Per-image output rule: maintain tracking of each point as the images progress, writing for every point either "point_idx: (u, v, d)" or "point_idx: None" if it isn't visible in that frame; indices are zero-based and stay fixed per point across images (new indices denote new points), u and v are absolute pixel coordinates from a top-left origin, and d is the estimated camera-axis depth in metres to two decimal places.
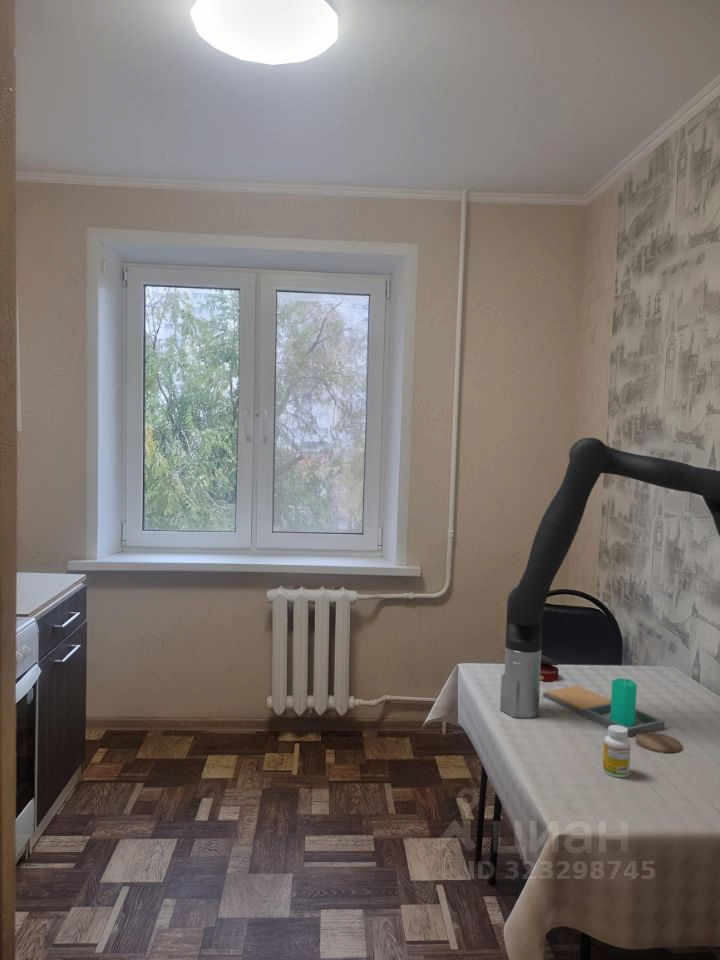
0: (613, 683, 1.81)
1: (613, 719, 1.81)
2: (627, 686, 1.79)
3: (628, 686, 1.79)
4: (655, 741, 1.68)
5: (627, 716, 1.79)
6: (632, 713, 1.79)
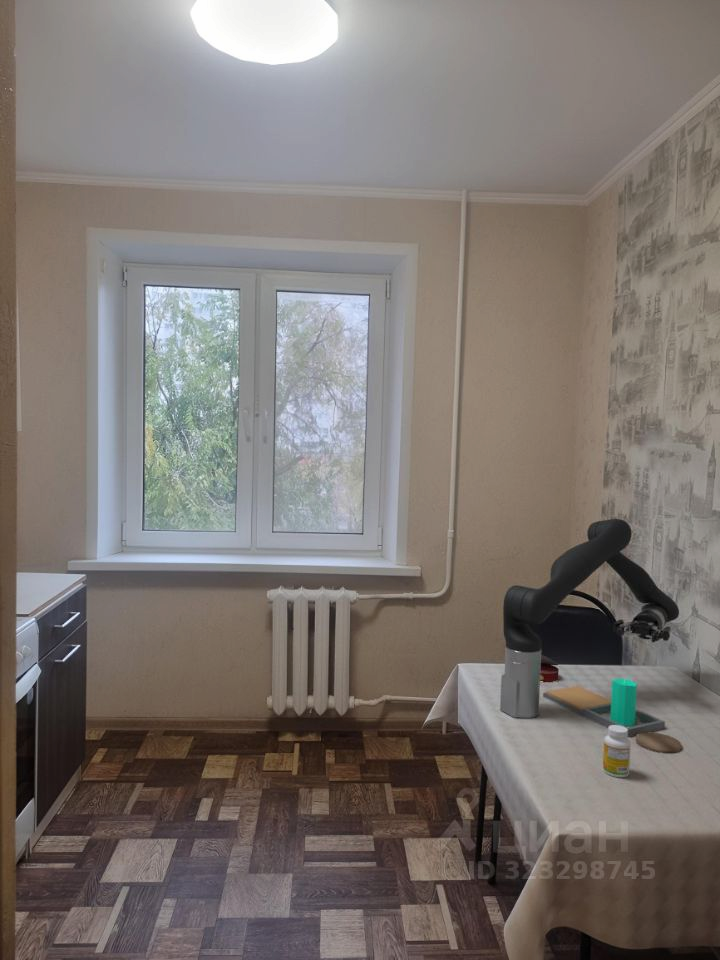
0: (613, 683, 1.81)
1: (613, 719, 1.81)
2: (627, 686, 1.79)
3: (628, 686, 1.79)
4: (655, 741, 1.68)
5: (627, 716, 1.79)
6: (632, 713, 1.79)
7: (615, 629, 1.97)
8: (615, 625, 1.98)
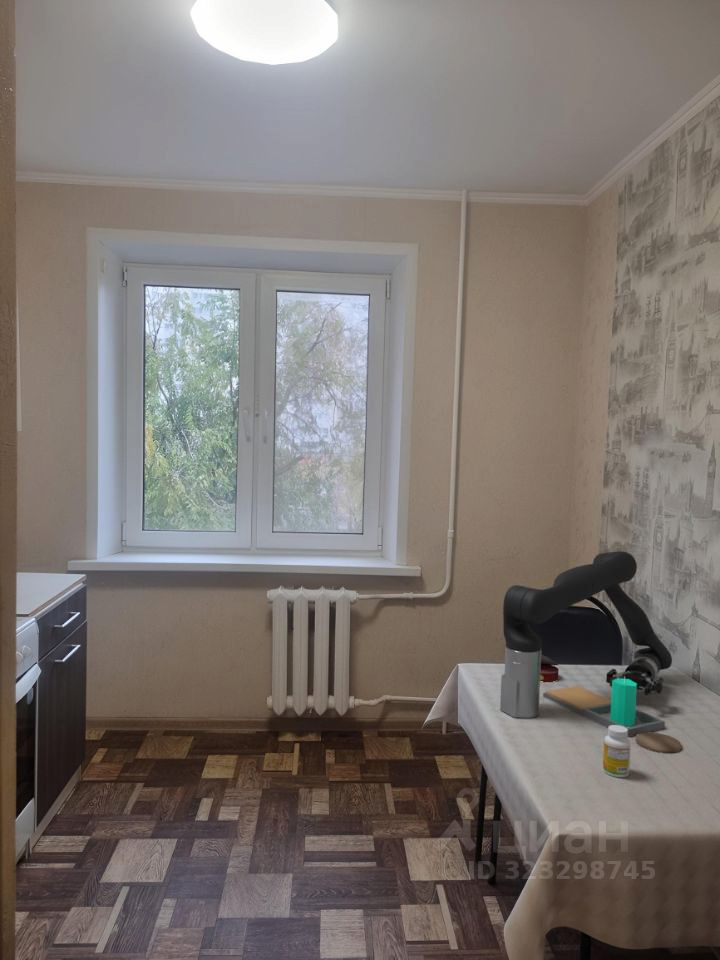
0: (613, 683, 1.81)
1: (613, 719, 1.81)
2: (627, 686, 1.79)
3: (628, 686, 1.79)
4: (655, 741, 1.68)
5: (627, 716, 1.79)
6: (632, 713, 1.79)
7: (608, 679, 1.95)
8: (608, 675, 1.95)
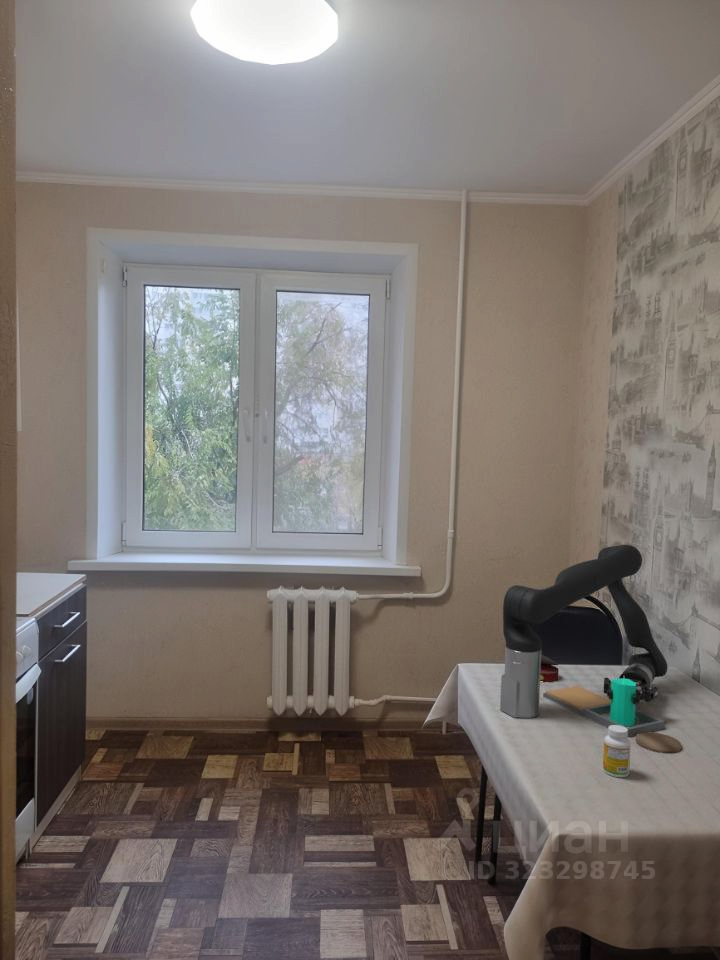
0: (612, 683, 1.81)
1: (613, 719, 1.81)
2: (626, 685, 1.79)
3: (627, 686, 1.79)
4: (655, 741, 1.68)
5: (626, 716, 1.79)
6: (631, 712, 1.79)
7: (605, 690, 1.86)
8: (605, 685, 1.86)
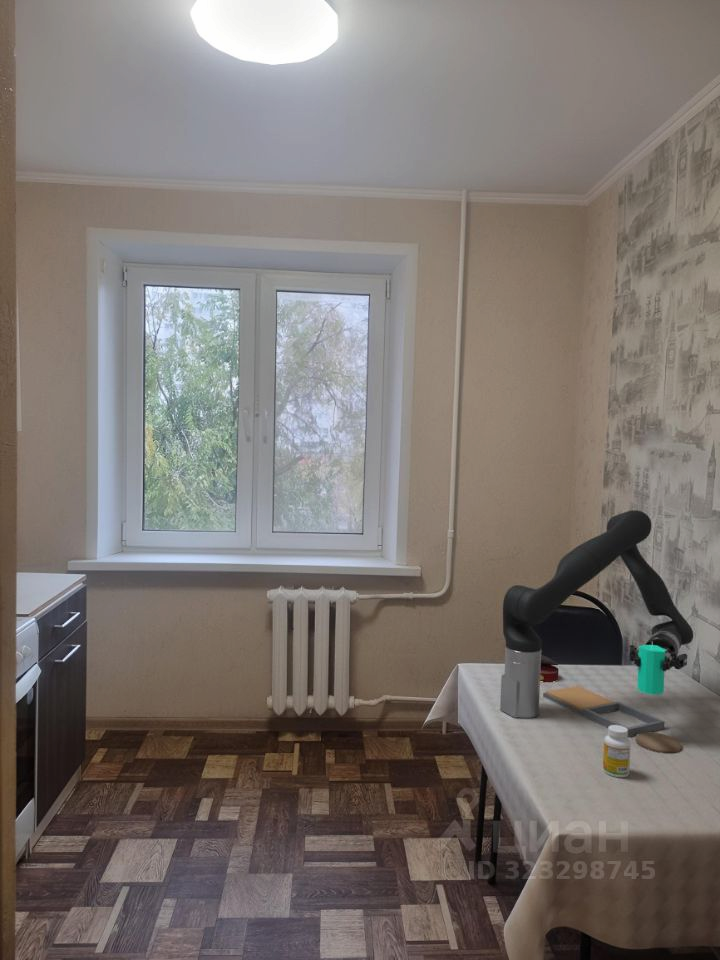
0: (640, 649, 1.71)
1: (640, 687, 1.71)
2: (655, 651, 1.69)
3: (656, 652, 1.69)
4: (655, 741, 1.68)
5: (655, 684, 1.69)
6: (661, 680, 1.69)
7: (631, 657, 1.76)
8: (631, 653, 1.76)
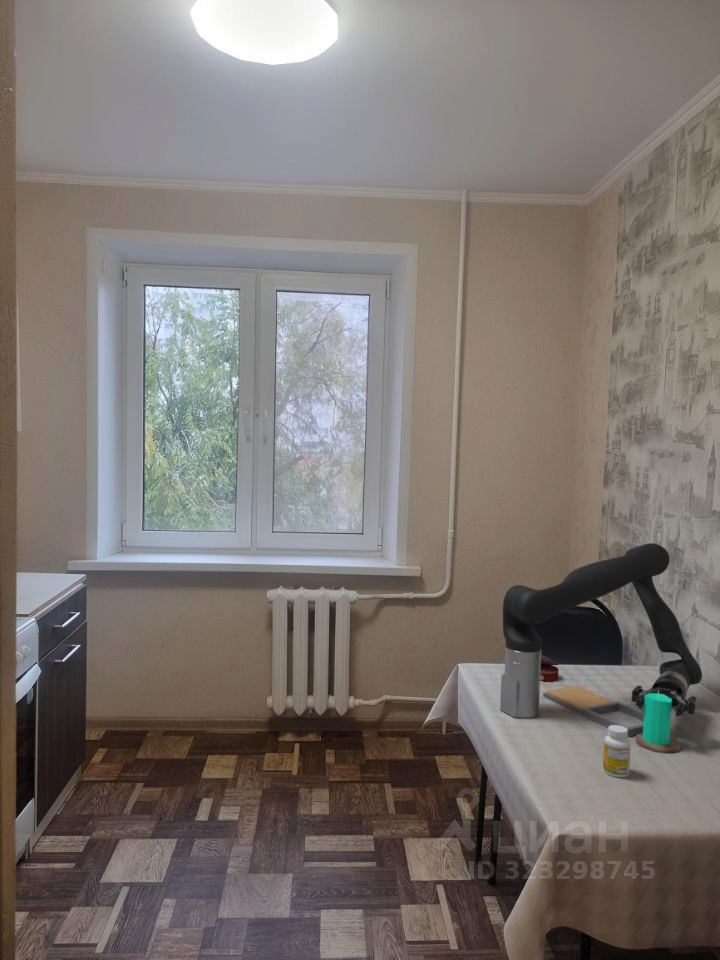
0: (646, 698, 1.68)
1: (646, 737, 1.68)
2: (661, 702, 1.66)
3: (662, 702, 1.66)
4: None
5: (661, 735, 1.66)
6: (666, 731, 1.66)
7: (634, 698, 1.74)
8: (634, 693, 1.74)
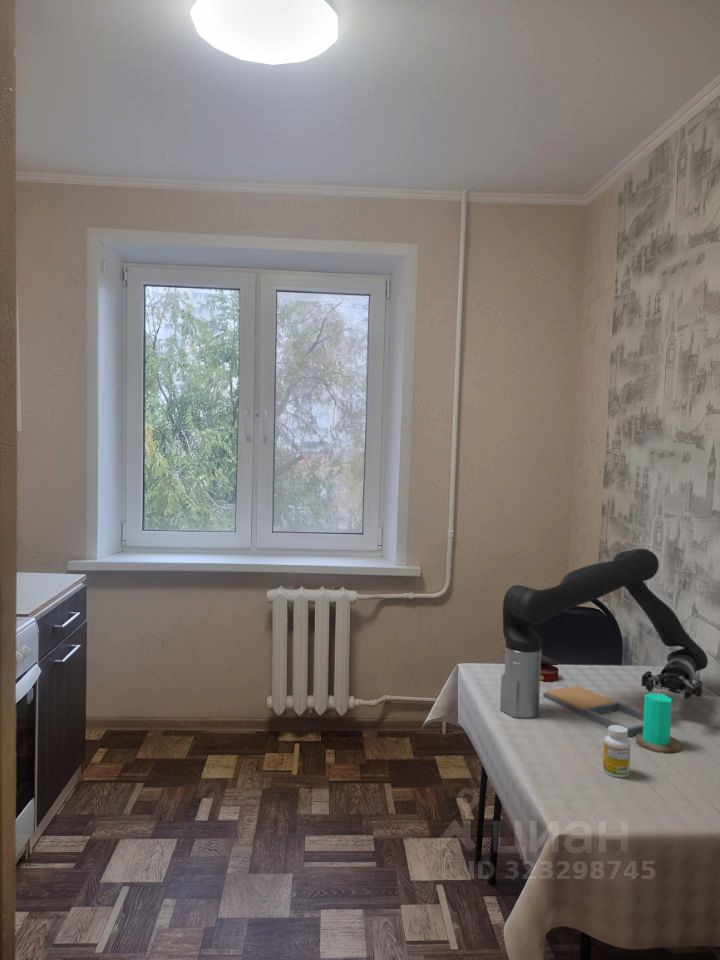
0: (646, 698, 1.69)
1: (646, 737, 1.68)
2: (661, 701, 1.66)
3: (662, 702, 1.66)
4: None
5: (661, 735, 1.66)
6: (666, 730, 1.66)
7: (643, 682, 1.85)
8: (643, 678, 1.85)
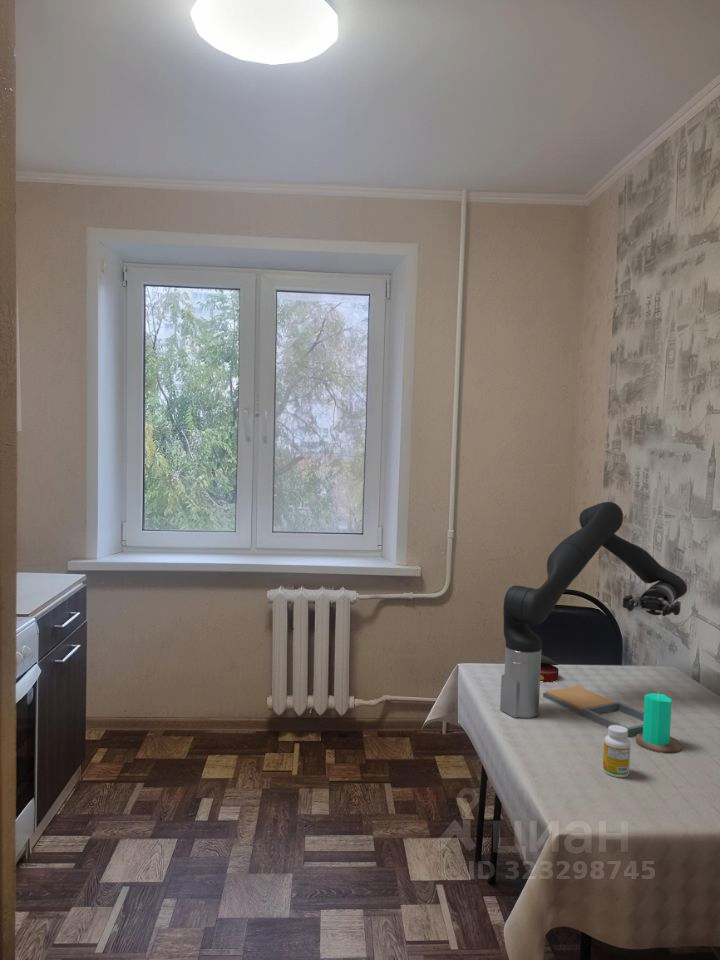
0: (646, 698, 1.69)
1: (646, 737, 1.68)
2: (661, 701, 1.66)
3: (662, 702, 1.66)
4: None
5: (661, 735, 1.66)
6: (666, 730, 1.66)
7: (624, 604, 1.94)
8: (624, 600, 1.94)
